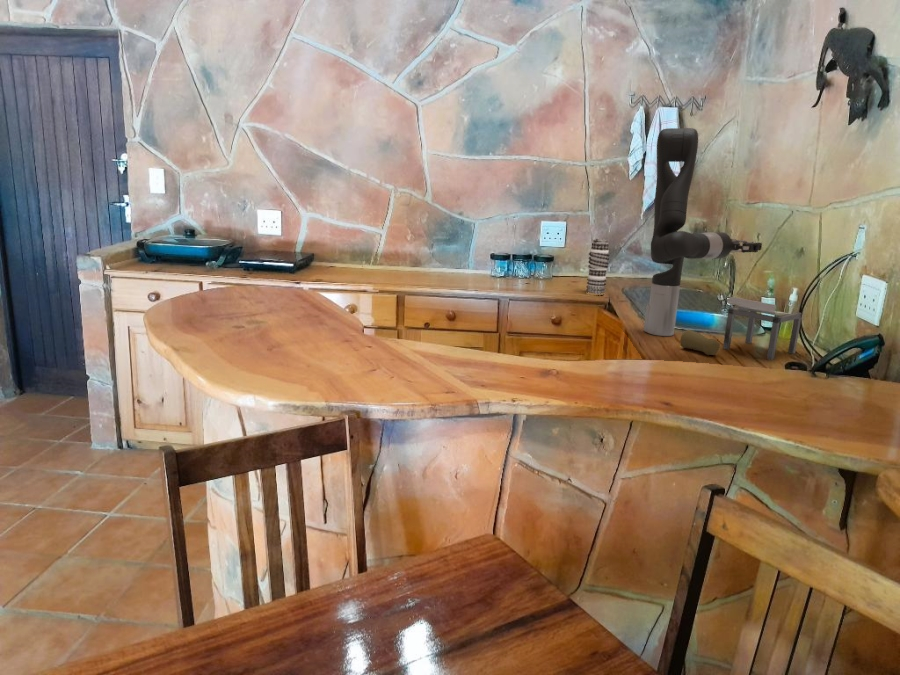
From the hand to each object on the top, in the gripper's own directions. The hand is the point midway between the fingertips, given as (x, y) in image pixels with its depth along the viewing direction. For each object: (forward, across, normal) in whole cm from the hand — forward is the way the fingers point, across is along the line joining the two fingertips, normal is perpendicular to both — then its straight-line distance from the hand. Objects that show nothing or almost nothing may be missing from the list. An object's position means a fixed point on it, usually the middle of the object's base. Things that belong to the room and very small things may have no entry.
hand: (747, 244), depth 194 cm
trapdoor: (+8, -2, +21) cm, 22 cm away
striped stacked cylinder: (+28, +94, +34) cm, 104 cm away
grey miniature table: (+11, -2, +34) cm, 36 cm away
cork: (-9, +10, +31) cm, 34 cm away
